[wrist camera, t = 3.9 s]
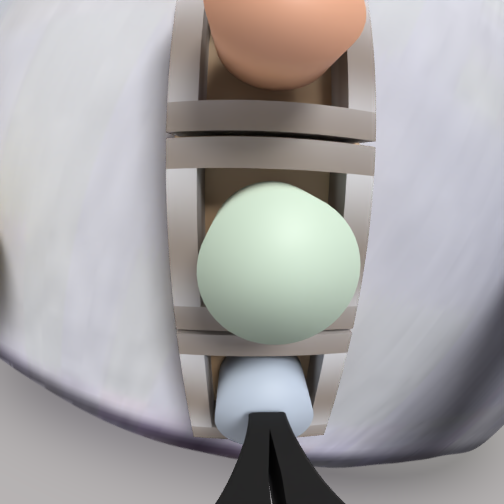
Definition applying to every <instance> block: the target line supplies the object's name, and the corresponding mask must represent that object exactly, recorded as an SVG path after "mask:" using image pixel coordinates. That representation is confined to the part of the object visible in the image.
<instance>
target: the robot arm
mask: <svg viewBox="0 0 504 504" xmlns="http://www.w3.org/2000/svg"><path fill="white" fill-rule="evenodd" d="M269 486H270V489H269ZM270 491H271V498H272V503H273V504H345V503H344V502H343V501H342V500H341V499H340V498H339V497H338V496H337V495H336V494H335V493H334V492H333V491H332V490H331V489H330V487H329V486H328V485H327V484H326V483H325V482H324V480H323V479H322V478H321V476H320V475H319V474H318V472H317V471H316V470H315V468H314V467H313V465H312V464H311V462H310V461H309V459H308V458H307V456H306V454H305V453H304V451H303V449H302V448H301V446H300V444H299V442H298V441H297V439H296V437H295V435H294V433H293V430H292V428H291V426H290V424H289V421H288V419H287V416H286V413H284V412H251V413H250V414H249V418H248V427H247V432H246V436H245V440H244V443H243V446H242V449H241V452H240V455H239V458H238V461H237V463H236V465H235V468H234V470H233V472H232V475H231V477H230V479H229V481H228V483H227V485H226V486H225V488H224V490H223V492H222V494H221V495H220V497H219V499H218V500H217V502H216V503H215V504H271V500H270Z"/></svg>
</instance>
